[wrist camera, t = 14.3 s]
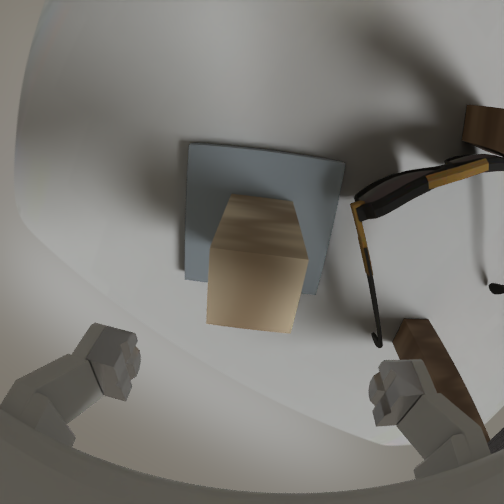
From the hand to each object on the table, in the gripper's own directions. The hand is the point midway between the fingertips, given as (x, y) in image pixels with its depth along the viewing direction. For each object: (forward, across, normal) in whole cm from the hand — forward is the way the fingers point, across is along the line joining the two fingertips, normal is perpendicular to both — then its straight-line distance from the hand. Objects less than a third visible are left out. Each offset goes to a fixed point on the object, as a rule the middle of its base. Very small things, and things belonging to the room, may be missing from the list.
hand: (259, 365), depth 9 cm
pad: (+13, 0, 0) cm, 13 cm away
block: (+12, 0, 0) cm, 12 cm away
